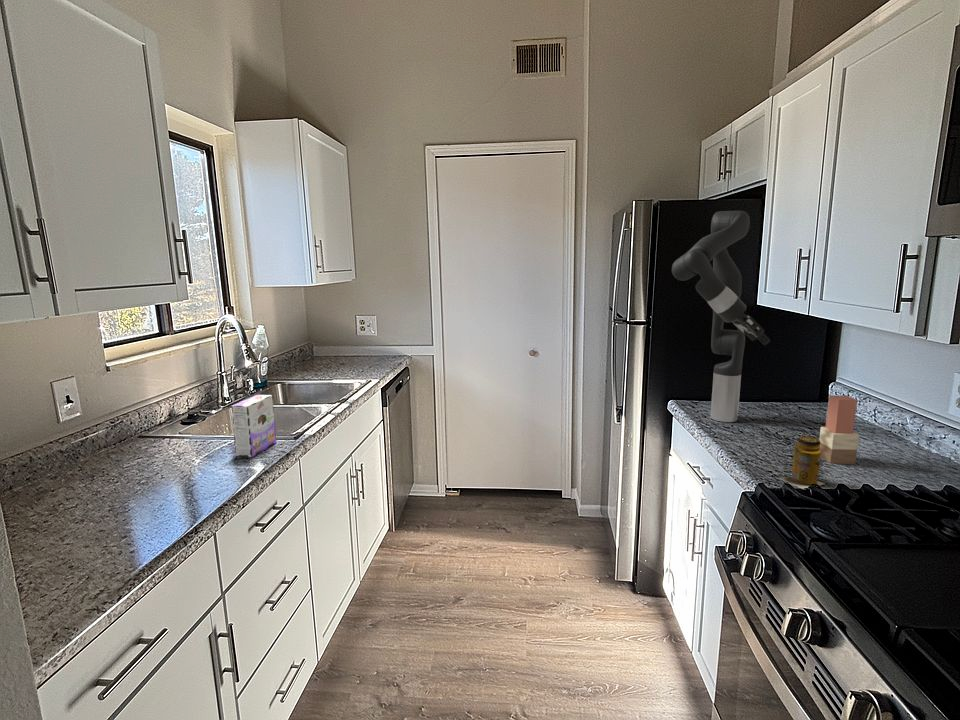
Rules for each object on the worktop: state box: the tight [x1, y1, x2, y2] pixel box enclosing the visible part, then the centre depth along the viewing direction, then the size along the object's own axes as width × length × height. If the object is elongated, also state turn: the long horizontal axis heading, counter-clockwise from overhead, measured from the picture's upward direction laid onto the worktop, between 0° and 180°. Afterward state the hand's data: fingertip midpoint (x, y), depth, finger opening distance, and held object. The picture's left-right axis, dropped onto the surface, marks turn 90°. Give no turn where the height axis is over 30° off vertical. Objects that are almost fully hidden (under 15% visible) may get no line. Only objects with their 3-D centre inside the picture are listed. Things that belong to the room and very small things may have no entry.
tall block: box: [825, 394, 858, 433], centre depth 159 cm, size 5×5×10 cm
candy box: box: [230, 394, 277, 458], centre depth 172 cm, size 14×6×16 cm, turn 168°
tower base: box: [820, 442, 858, 465], centre depth 161 cm, size 7×7×4 cm
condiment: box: [778, 435, 826, 490], centre depth 144 cm, size 7×8×12 cm
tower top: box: [818, 426, 860, 451], centre depth 160 cm, size 7×7×4 cm
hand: (761, 340), depth 167 cm, fingers open, 8 cm apart
